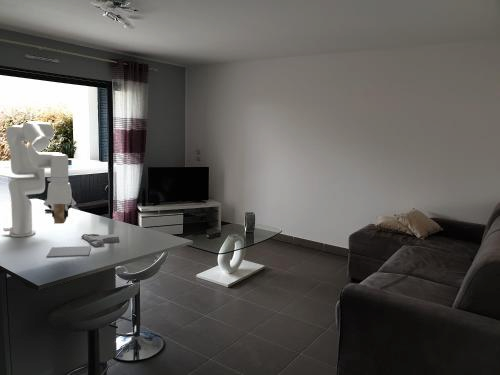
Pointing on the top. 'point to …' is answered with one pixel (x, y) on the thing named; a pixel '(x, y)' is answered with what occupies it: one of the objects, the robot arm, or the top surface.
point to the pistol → (100, 239)
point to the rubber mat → (69, 251)
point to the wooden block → (59, 213)
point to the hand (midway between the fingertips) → (60, 218)
